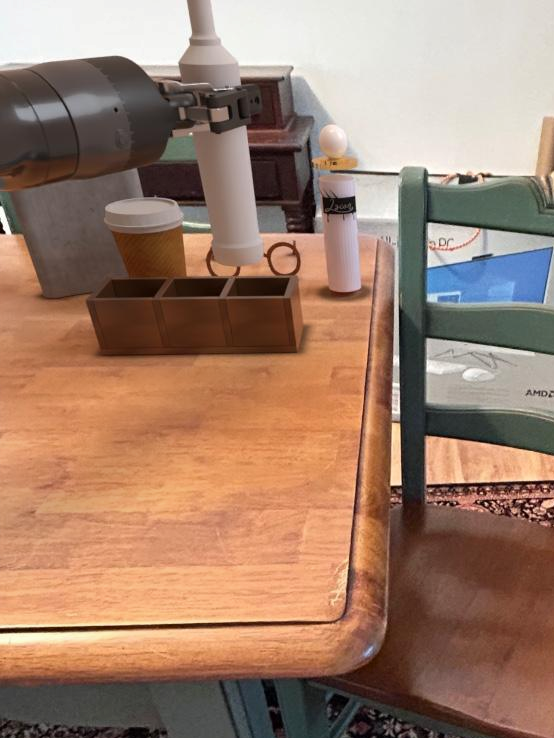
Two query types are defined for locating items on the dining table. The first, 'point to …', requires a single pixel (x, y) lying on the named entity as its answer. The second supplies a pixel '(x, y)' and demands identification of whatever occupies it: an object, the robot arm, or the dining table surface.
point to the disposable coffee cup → (148, 236)
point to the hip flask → (73, 231)
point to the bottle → (222, 149)
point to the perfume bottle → (338, 211)
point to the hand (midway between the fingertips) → (232, 95)
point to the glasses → (268, 256)
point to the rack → (197, 314)
